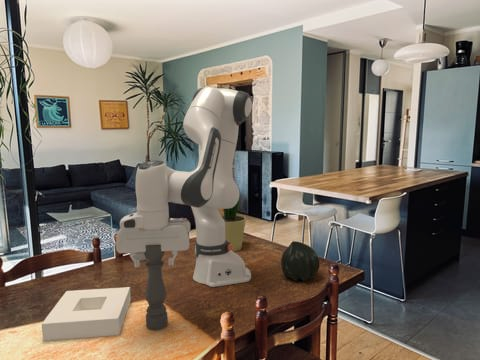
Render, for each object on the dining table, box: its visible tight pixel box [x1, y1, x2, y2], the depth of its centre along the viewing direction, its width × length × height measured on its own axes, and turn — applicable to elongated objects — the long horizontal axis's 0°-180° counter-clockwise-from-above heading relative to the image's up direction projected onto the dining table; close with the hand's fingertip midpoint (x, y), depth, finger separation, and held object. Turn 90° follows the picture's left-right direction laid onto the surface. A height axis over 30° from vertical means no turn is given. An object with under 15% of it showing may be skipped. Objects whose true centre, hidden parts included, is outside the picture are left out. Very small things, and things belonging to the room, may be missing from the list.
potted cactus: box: [220, 199, 247, 252], centre depth 171 cm, size 15×15×30 cm
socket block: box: [41, 286, 131, 342], centre depth 108 cm, size 20×20×5 cm
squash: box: [280, 240, 320, 282], centre depth 138 cm, size 14×15×15 cm
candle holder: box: [144, 245, 169, 331], centre depth 104 cm, size 6×6×25 cm
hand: (154, 265), depth 103 cm, fingers open, 8 cm apart
